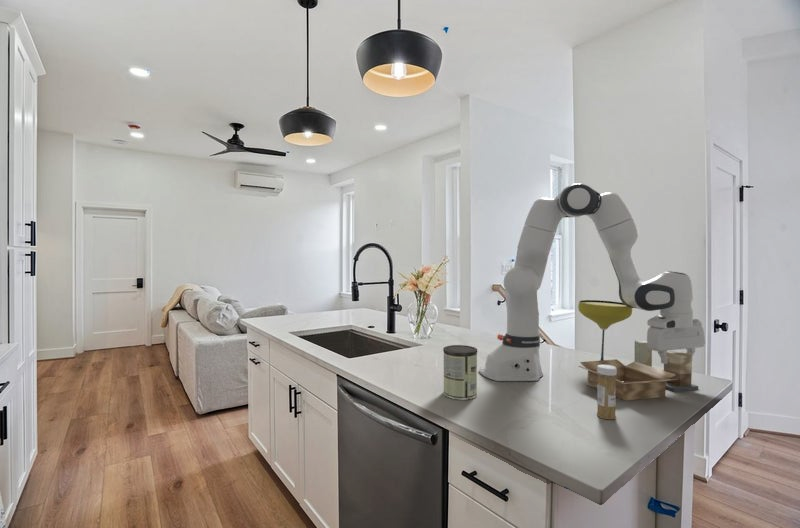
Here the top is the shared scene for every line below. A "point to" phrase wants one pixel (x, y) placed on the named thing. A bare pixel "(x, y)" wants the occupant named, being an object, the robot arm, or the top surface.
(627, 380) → the carton
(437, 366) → the top surface
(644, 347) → the box
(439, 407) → the top surface
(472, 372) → the coffee can
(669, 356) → the block
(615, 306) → the cocktail glass
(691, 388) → the mat
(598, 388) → the sprinkles bottle
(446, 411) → the top surface
